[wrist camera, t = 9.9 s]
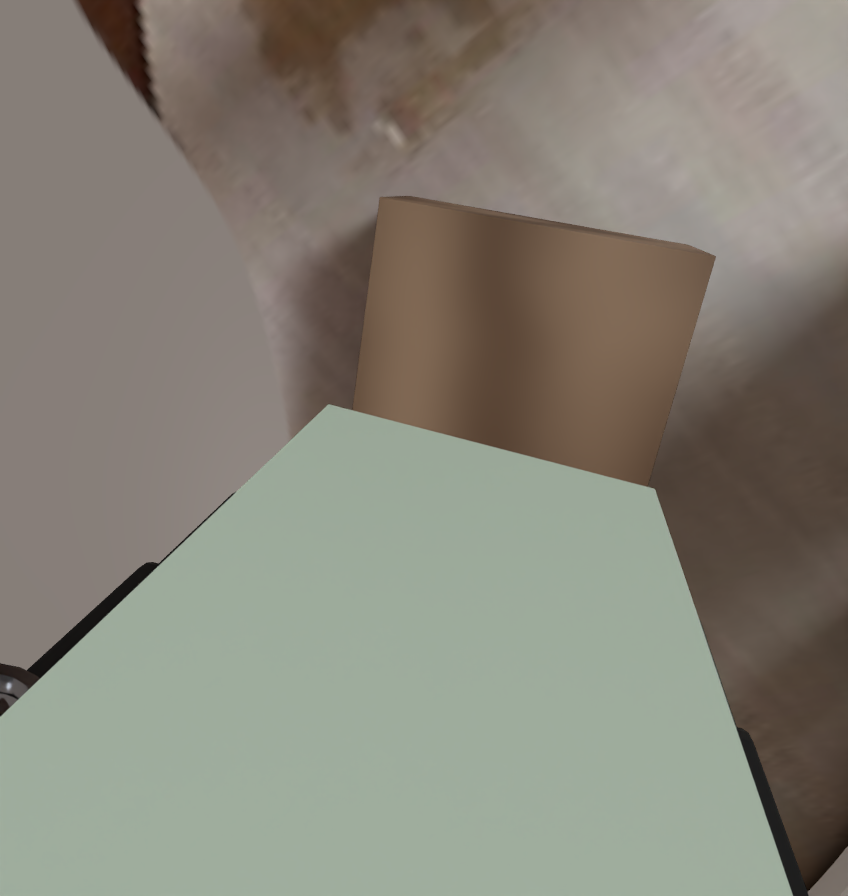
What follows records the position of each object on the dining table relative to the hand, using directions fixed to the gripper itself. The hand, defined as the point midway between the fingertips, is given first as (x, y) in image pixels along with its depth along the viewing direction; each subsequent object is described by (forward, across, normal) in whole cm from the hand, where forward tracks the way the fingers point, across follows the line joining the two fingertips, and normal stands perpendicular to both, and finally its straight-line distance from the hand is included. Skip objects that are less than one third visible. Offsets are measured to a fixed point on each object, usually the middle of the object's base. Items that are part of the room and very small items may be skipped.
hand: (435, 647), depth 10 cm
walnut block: (+19, 0, 0) cm, 19 cm away
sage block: (+2, 0, 0) cm, 2 cm away
